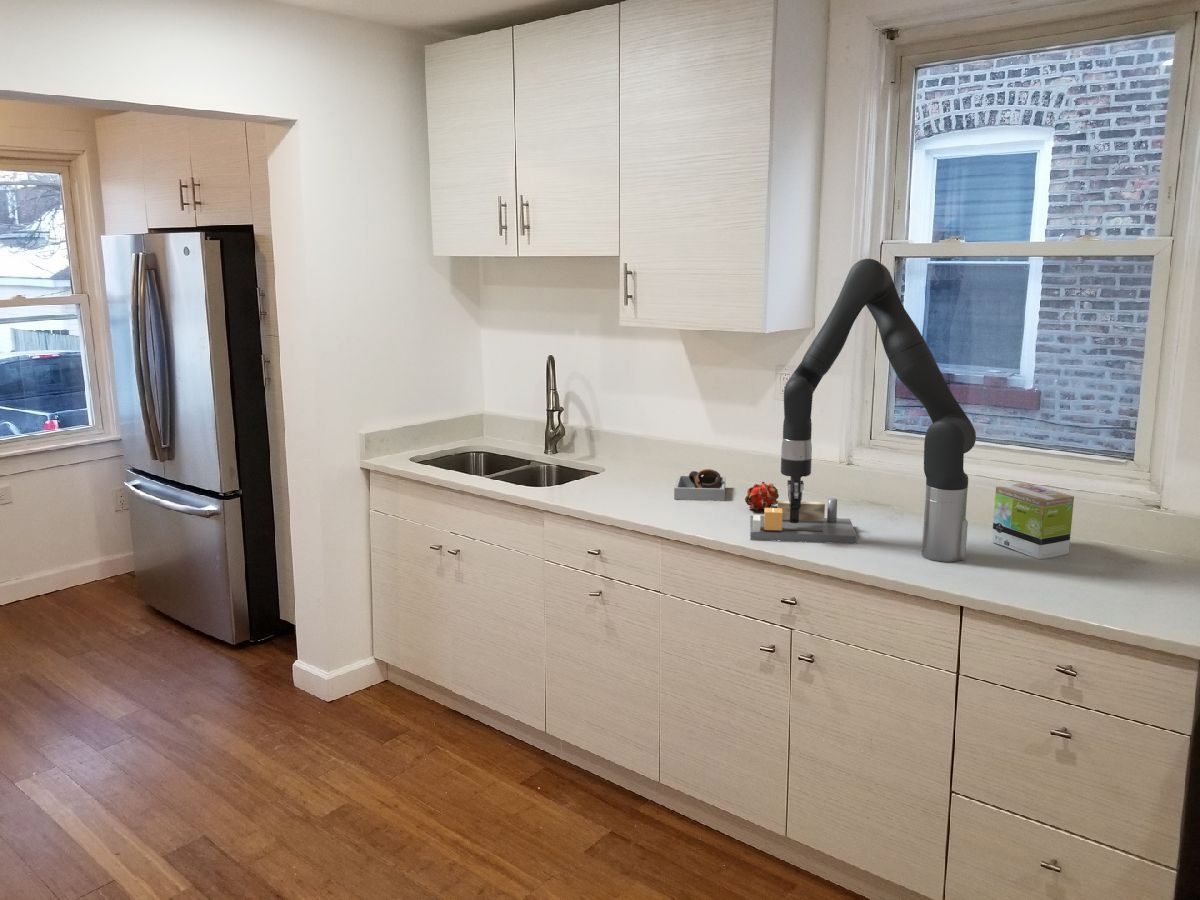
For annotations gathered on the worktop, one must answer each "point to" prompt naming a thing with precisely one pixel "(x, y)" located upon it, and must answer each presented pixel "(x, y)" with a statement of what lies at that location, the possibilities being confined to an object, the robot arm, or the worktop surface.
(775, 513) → the fader knob
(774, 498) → the dragon fruit
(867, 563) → the worktop surface
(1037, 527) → the tea box
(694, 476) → the pottery mug
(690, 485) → the tray
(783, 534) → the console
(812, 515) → the gate arm
